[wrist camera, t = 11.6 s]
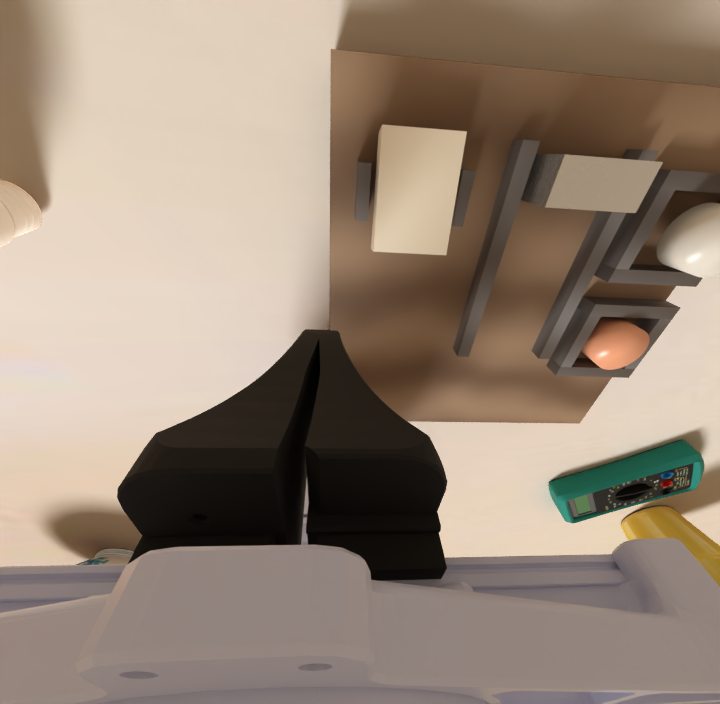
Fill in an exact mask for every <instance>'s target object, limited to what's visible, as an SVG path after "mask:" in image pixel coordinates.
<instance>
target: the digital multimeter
mask: <svg viewBox="0 0 720 704" xmlns="http://www.w3.org/2000/svg"><path fill="white" fill-rule="evenodd" d="M703 471H704V461H703V458H702V456H701V454H700V453H699V452H697V451H696V450H695V449H694V448H693V447H692V446H690V445H689V444H688V443H687V442H686V441H684V440H679V441H676V442H673V443H669V444H667V445H664V446H661V447H658V448H655V449H652V450H649V451H646V452H643V453H640V454H637V455H634V456H631V457H628V458H625V459H621V460H618V461H615V462H612V463H609V464H605V465H602V466H599V467H596V468H593V469H589V470H586V471H583V472H579V473H576V474H572V475H569V476H565V477H562V478H559V479H556V480H553V481H550V482H549V490H550V494H551V497H552V499H553V501H554V503H555V505H556V506H557V508H558V510H559V511H560V513H561V515H562V516H563V518H564V520H565V521H566V522H570V523H576V522H580V521H583V520H586V519H590V518H593V517H596V516H600V515H603V514H606V513H610V512H613V511H617V510H620V509H624V508H627V507H631V506H634V505H638V504H642V503H645V502H649V501H653V500H657V499H661V498H664V497H668V496H672V495H676V494H680V493H684V492H688V491H691V490H694V489H696V488H697V486H698V484H699V482H700V480H701V477H702V474H703Z"/></svg>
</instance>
